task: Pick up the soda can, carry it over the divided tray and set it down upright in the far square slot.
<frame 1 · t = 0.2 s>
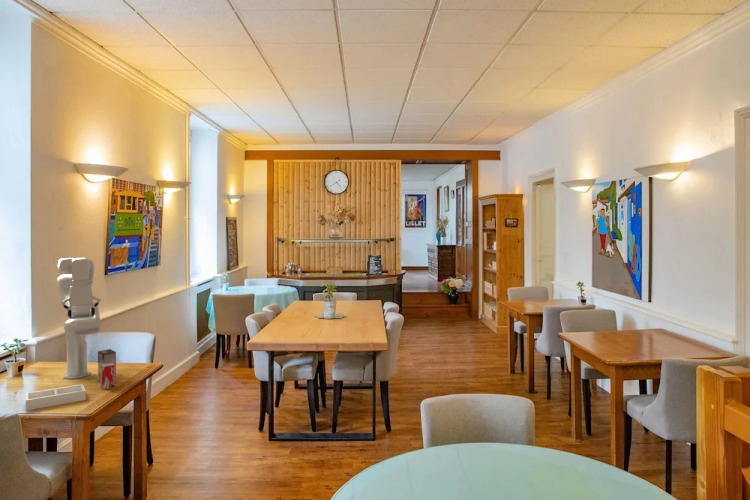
hand: (81, 316, 250), 36 cm above the table, tool pointing down, fingers open, 9 cm apart
divided tray: (55, 401, 231), on the table
coffee box: (107, 381, 262), on the table
soda can: (108, 388, 251), on the table
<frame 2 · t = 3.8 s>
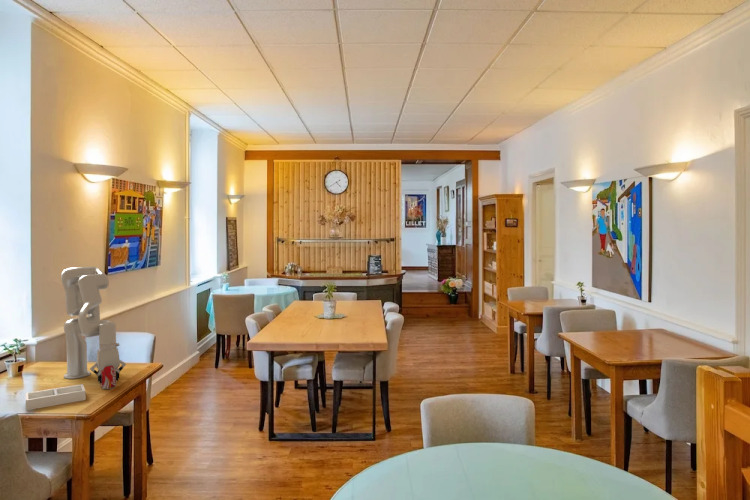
hand: (108, 381, 251), 3 cm above the table, tool pointing down, fingers closed on soda can, 7 cm apart
soda can: (108, 388, 251), on the table, touching gripper
everything else where it was.
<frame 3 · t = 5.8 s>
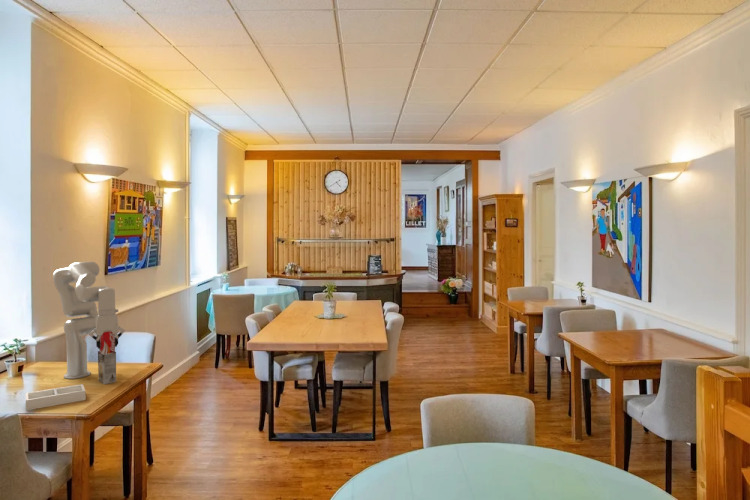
hand: (107, 347, 251), 21 cm above the table, tool pointing down, fingers closed on soda can, 7 cm apart
soda can: (107, 353, 251), point 17 cm above the table, touching gripper
everything else where it was.
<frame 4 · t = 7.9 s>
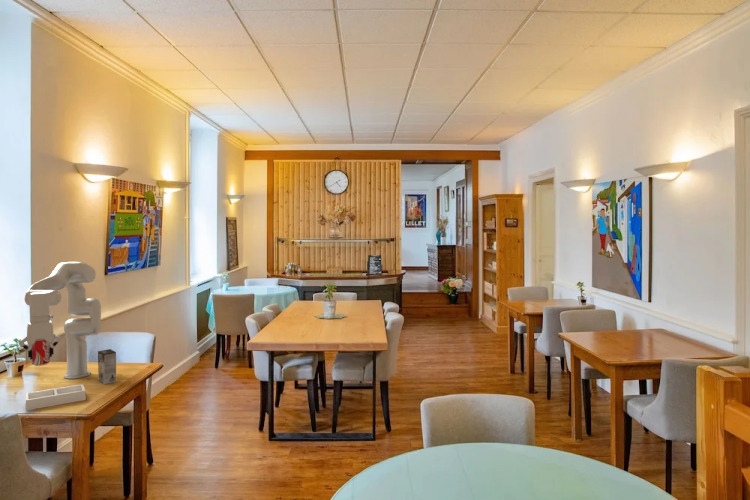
hand: (41, 357, 228), 22 cm above the table, tool pointing down, fingers closed on soda can, 7 cm apart
soda can: (41, 364, 228), point 18 cm above the table, touching gripper
everything else where it was.
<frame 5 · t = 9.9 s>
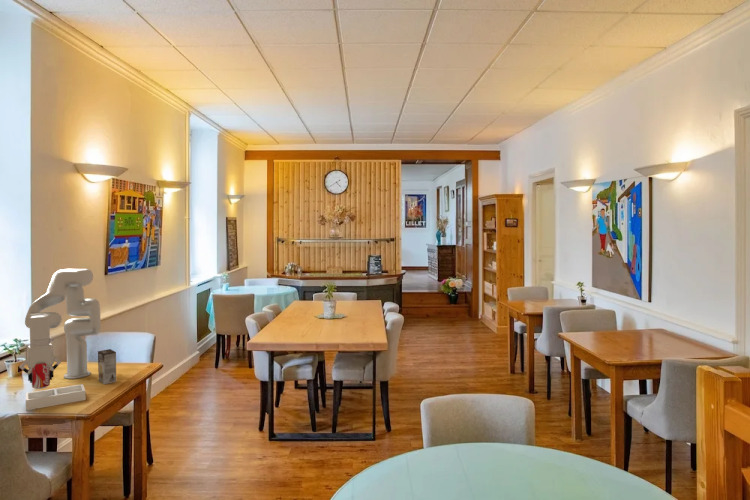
hand: (41, 380, 228), 11 cm above the table, tool pointing down, fingers closed on soda can, 7 cm apart
soda can: (41, 387, 228), point 8 cm above the table, touching gripper
everything else where it was.
when the fingers open (6 cm above the table, at t = 11.9 s): soda can drops 1 cm, resting on divided tray.
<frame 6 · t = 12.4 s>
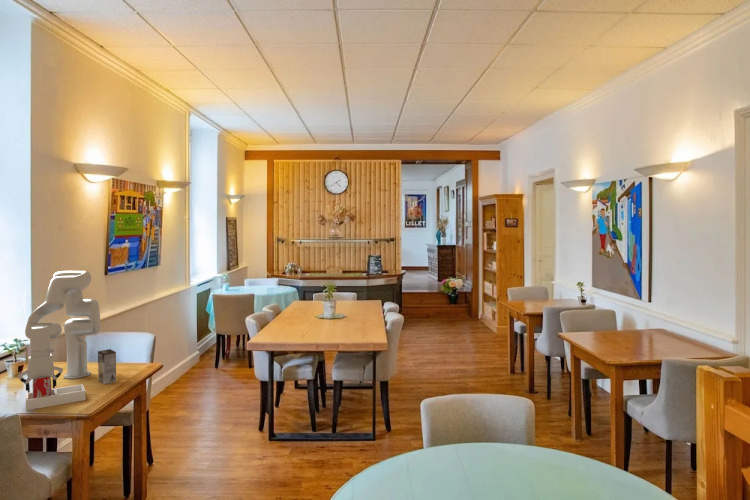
hand: (41, 389, 228), 6 cm above the table, tool pointing down, fingers open, 9 cm apart
soda can: (42, 401, 228), point 1 cm above the table, touching divided tray
everything else where it was.
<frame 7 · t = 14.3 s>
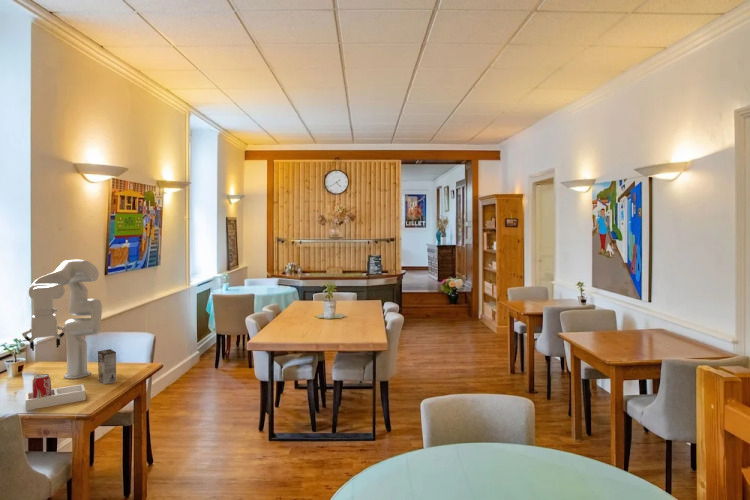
hand: (45, 348, 233), 24 cm above the table, tool pointing down, fingers open, 9 cm apart
nothing on the table moved.
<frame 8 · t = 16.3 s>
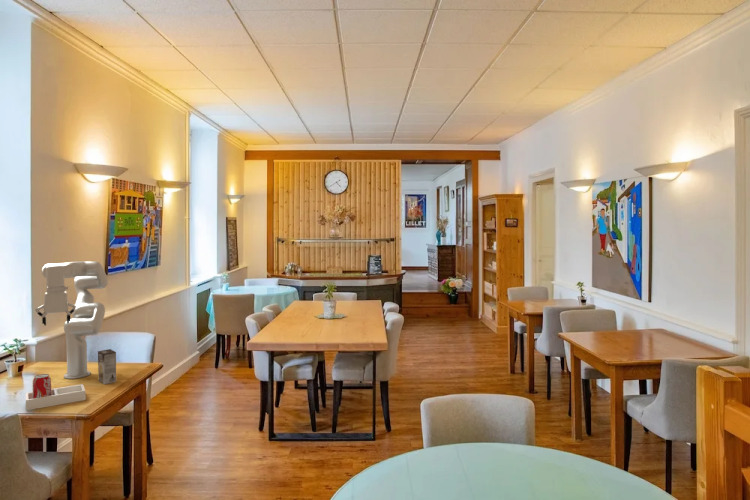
hand: (56, 323, 247), 33 cm above the table, tool pointing down, fingers open, 9 cm apart
nothing on the table moved.
at the end: soda can 0.2 cm from the target spot on the divided tray, point 0.8 cm above the divided tray's base; soda can tilted 0°; the gripper is holding nothing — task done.
